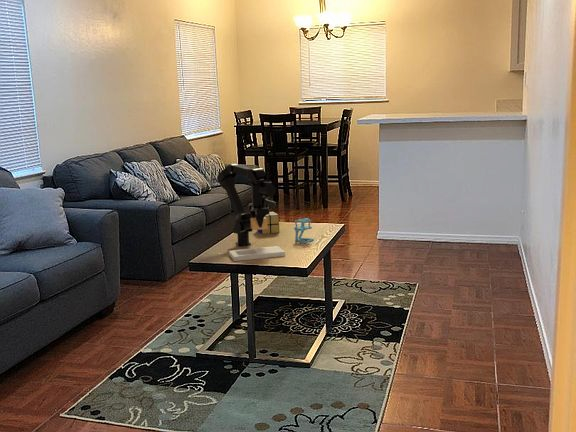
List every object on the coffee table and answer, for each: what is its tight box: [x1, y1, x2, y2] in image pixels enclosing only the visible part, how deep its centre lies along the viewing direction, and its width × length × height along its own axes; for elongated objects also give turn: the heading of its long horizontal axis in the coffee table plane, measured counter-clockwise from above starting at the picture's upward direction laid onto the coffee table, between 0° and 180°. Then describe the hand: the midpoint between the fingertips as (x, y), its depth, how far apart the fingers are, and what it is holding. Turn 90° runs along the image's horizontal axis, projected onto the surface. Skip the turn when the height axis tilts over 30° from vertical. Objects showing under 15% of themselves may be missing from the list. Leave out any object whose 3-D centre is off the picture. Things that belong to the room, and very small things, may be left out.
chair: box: [293, 217, 315, 244], centre depth 321 cm, size 8×8×12 cm
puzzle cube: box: [256, 211, 280, 235], centre depth 345 cm, size 10×10×10 cm
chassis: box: [228, 245, 286, 262], centre depth 296 cm, size 12×24×2 cm, turn 107°
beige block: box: [251, 217, 267, 231], centre depth 307 cm, size 5×7×5 cm
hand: (259, 226), depth 307 cm, fingers closed on beige block, 5 cm apart
